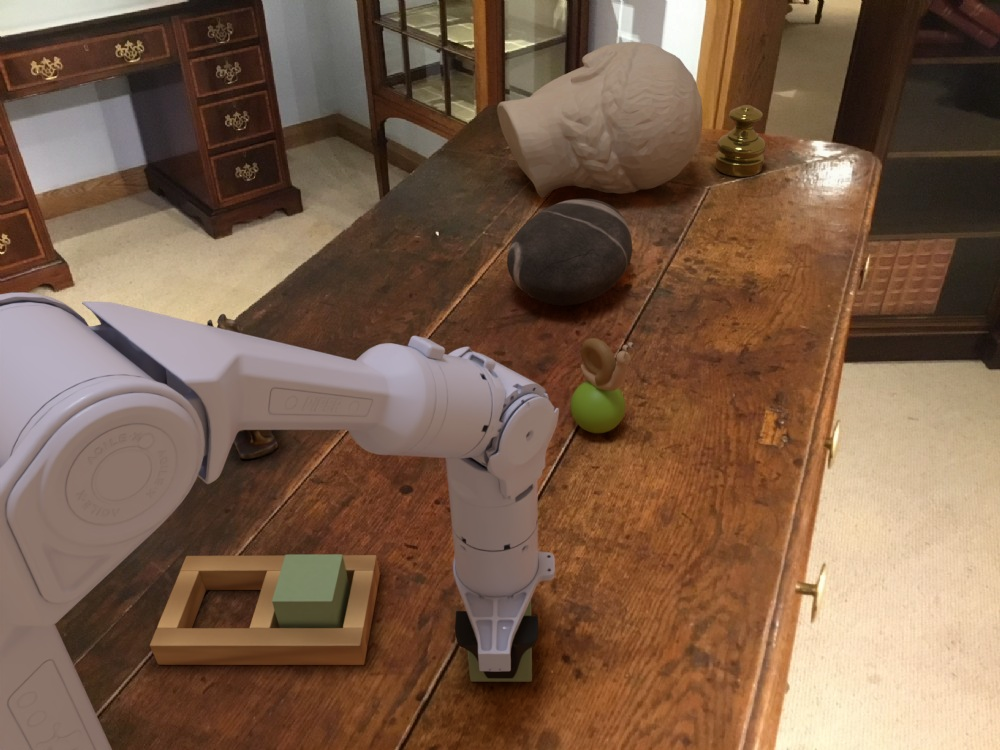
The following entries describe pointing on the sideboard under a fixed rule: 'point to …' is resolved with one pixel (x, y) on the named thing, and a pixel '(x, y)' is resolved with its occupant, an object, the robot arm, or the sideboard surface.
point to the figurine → (248, 440)
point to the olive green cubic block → (521, 676)
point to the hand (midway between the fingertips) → (501, 644)
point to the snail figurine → (600, 387)
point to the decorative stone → (570, 252)
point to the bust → (608, 122)
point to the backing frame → (261, 617)
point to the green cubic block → (312, 591)
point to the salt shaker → (741, 145)
